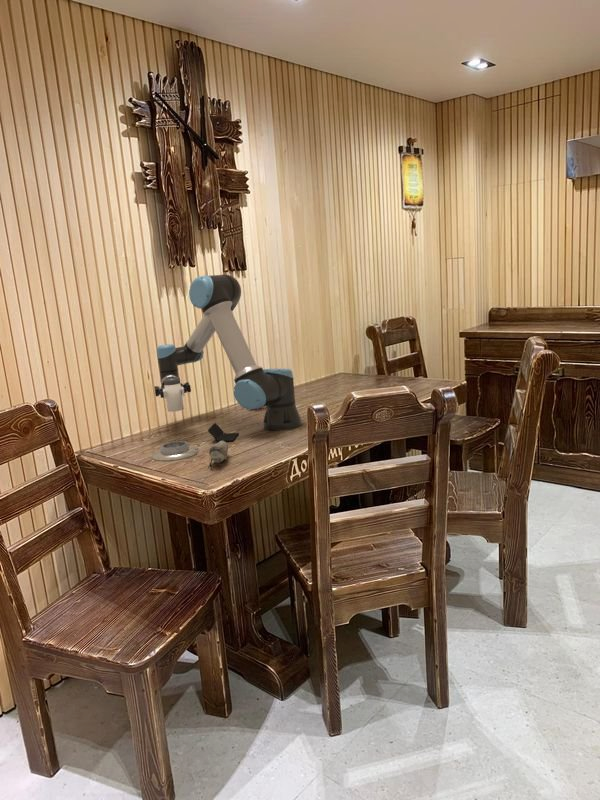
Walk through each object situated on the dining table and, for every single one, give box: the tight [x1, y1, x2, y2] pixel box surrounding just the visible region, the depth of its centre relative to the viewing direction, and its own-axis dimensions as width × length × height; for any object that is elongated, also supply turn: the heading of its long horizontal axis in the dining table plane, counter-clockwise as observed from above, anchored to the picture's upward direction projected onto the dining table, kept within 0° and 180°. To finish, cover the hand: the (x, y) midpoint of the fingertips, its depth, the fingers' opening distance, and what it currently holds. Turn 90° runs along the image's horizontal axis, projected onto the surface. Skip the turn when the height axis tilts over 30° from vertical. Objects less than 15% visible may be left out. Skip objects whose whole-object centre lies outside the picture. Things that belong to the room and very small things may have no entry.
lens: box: [164, 376, 185, 413], centre depth 226 cm, size 6×6×12 cm
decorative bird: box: [207, 441, 229, 470], centre depth 195 cm, size 5×16×8 cm, turn 176°
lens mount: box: [151, 440, 199, 462], centre depth 210 cm, size 16×16×4 cm
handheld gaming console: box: [207, 422, 240, 443], centre depth 226 cm, size 12×7×10 cm
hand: (174, 393), depth 221 cm, fingers closed on lens, 6 cm apart
